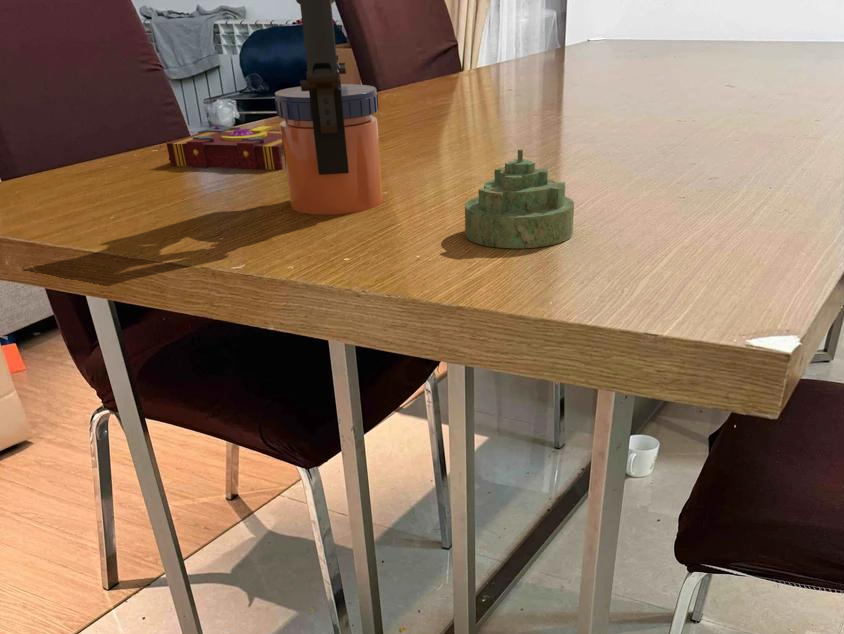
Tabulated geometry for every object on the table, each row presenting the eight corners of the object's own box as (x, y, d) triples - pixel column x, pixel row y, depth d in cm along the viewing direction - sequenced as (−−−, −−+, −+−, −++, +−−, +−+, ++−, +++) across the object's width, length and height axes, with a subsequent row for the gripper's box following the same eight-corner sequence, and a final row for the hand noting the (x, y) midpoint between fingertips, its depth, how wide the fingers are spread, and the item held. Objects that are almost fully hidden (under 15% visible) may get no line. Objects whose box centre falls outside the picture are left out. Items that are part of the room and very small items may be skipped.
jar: (295, 239, 79) (279, 112, 73) (291, 216, 86) (275, 98, 80) (390, 231, 80) (381, 105, 74) (378, 210, 87) (369, 93, 81)
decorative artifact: (564, 218, 82) (463, 222, 82) (569, 137, 78) (461, 141, 78) (579, 246, 74) (467, 250, 74) (585, 158, 70) (466, 162, 70)
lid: (384, 104, 81) (383, 83, 80) (370, 120, 73) (368, 96, 72) (289, 106, 81) (287, 85, 80) (266, 122, 74) (262, 98, 73)
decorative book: (284, 188, 97) (277, 140, 94) (164, 183, 101) (153, 137, 98) (325, 169, 105) (320, 123, 102) (213, 165, 109) (205, 121, 106)
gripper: (349, -172, 58) (377, 184, 72) (346, -142, 75) (369, 140, 89) (240, -169, 57) (289, 190, 71) (261, -139, 75) (298, 144, 88)
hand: (333, 162), depth 80 cm, fingers closed on lid, 9 cm apart
